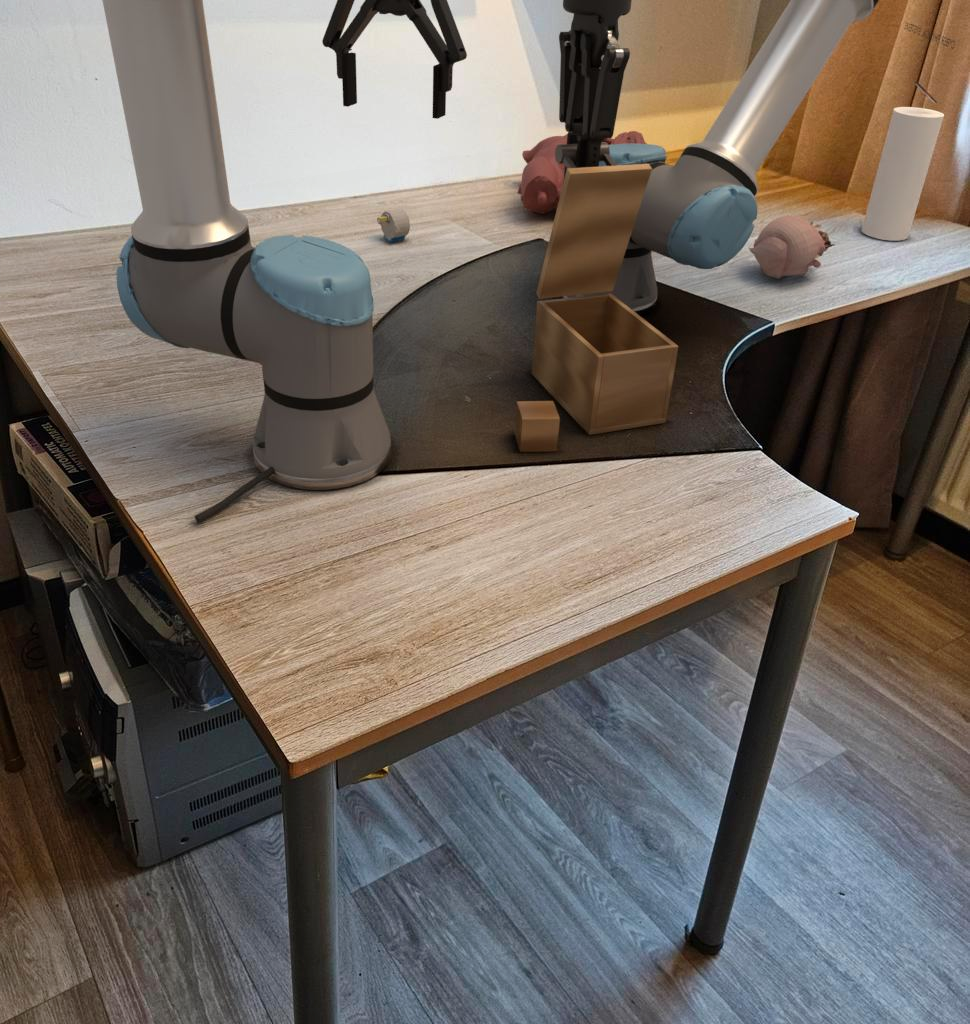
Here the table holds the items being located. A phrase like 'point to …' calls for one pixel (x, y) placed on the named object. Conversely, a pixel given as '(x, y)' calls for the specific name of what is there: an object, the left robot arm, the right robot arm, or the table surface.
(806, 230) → the toy
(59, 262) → the table surface
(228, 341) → the left robot arm
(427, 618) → the table surface
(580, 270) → the lid
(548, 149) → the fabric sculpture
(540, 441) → the block
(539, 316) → the chest
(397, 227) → the electric motor
